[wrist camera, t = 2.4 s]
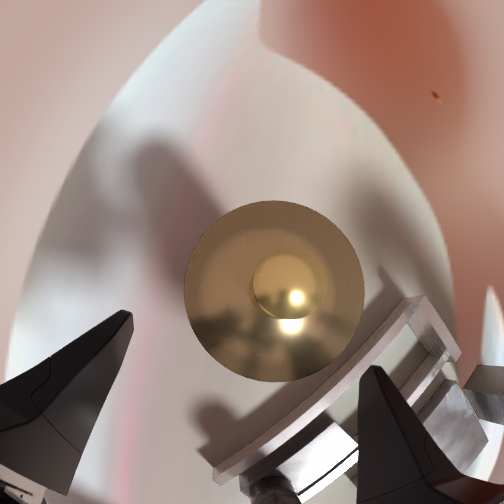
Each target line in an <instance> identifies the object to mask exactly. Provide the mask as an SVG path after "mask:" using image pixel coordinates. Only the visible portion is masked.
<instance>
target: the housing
mask: <svg viewBox="0 0 504 504" xmlns="http://www.w3.org/2000/svg"><path fill="white" fill-rule="evenodd" d="M364 296H365V293H364V279H363V273H362V269H361V266H360V262H359V260H358V257H357V255H356V253H355V251H354V249H353V247H352V245H351V244H350V242H349V240H348V239H347V238H346V236H345V235H344V234H343V233H342V231H341V230H340V229H339V228H338V227H337V226H336V225H335V224H334V223H332V222H331V221H330V220H329V219H327V218H326V217H325V216H323V215H321V214H320V213H318V212H316V211H314V210H312V209H310V208H308V207H305V206H302V205H299V204H296V203H291V202H286V201H261V202H256V203H251V204H248V205H245V206H242V207H239V208H237V209H235V210H233V211H231V212H229V213H227V214H226V215H224V216H223V217H221V218H220V219H218V220H217V221H216V222H215V223H214V224H213V225H212V226H210V228H209V229H208V230H207V231H206V232H205V233H204V234H203V236H202V237H201V239H200V240H199V242H198V243H197V245H196V246H195V248H194V250H193V252H192V254H191V257H190V260H189V263H188V266H187V269H186V275H185V281H184V299H185V307H186V311H187V315H188V319H189V321H190V324H191V327H192V329H193V331H194V333H195V335H196V337H197V338H198V340H199V342H200V343H201V344H202V346H203V347H204V348H205V350H206V351H207V352H208V353H209V354H210V355H211V356H212V357H213V358H214V359H215V360H216V361H218V362H219V363H220V364H222V365H223V366H224V367H226V368H227V369H229V370H231V371H233V372H234V373H236V374H239V375H241V376H244V377H246V378H250V379H254V380H258V381H265V382H286V381H292V380H297V379H300V378H303V377H306V376H309V375H311V374H313V373H315V372H317V371H319V370H321V369H322V368H324V367H326V366H327V365H329V364H330V363H331V362H332V361H333V360H334V359H336V358H337V357H338V356H339V355H340V354H341V352H342V351H343V350H344V349H345V348H346V346H347V345H348V344H349V342H350V341H351V339H352V337H353V335H354V334H355V332H356V330H357V327H358V325H359V322H360V319H361V315H362V311H363V306H364Z"/></svg>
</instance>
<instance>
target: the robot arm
mask: <svg viewBox="0 0 504 504" xmlns="http://www.w3.org/2000/svg"><path fill="white" fill-rule="evenodd" d="M133 331H134V324H133V315H132V313H131V312H129V311H126V310H120V311H118V312H116V313H115V314H113V315H112V316H110V317H109V318H107V319H106V320H104V321H103V322H101V323H100V324H98V325H97V326H95V327H93V328H92V329H90V330H89V331H87V332H86V333H84V334H83V335H81V336H80V337H78V338H77V339H75V340H74V341H72V342H71V343H69V344H68V345H66V346H65V347H63V348H62V349H60V350H59V351H57V352H56V353H54V354H53V355H51V357H48V358H47V359H45V360H44V361H42V362H41V363H39V364H38V365H36V366H35V367H33V368H31V369H29V370H28V371H26V372H24V373H22V374H20V375H19V376H17V377H15V378H13V379H11V380H9V381H7V382H5V383H3V384H1V385H0V504H47V503H46V501H45V499H44V495H45V492H46V489H47V488H48V489H51V490H53V491H56V492H58V493H60V494H63V495H66V496H67V494H68V491H69V488H70V485H71V483H72V480H73V477H74V474H75V472H76V469H77V467H78V464H79V461H80V459H81V456H82V454H83V451H84V449H85V446H86V444H87V441H88V439H89V436H90V434H91V432H92V429H93V427H94V425H95V422H96V420H97V418H98V415H99V413H100V411H101V409H102V407H103V404H104V402H105V400H106V398H107V396H108V393H109V391H110V389H111V387H112V385H113V383H114V381H115V378H116V376H117V374H118V372H119V370H120V368H121V365H122V362H123V359H124V357H125V354H126V351H127V348H128V345H129V342H130V340H131V337H132V334H133ZM503 501H504V484H502V485H500V484H494V483H490V482H487V481H483V480H479V479H476V478H472V477H469V476H466V475H464V474H462V473H461V472H460V471H459V470H458V469H457V468H456V467H455V466H454V465H453V463H452V462H451V461H450V460H449V459H448V457H447V456H446V455H445V454H444V453H443V451H442V450H441V449H440V448H439V446H438V445H437V444H436V442H435V441H434V439H433V438H432V437H431V435H430V434H429V432H428V431H426V428H425V427H424V425H423V424H422V422H421V421H420V420H419V418H418V417H417V415H416V414H415V412H414V411H413V410H412V408H411V407H410V405H409V404H408V403H407V401H406V400H405V398H404V397H403V396H402V394H401V393H400V391H399V390H398V389H397V387H396V386H395V385H394V383H393V382H392V380H391V379H390V378H389V376H388V375H387V374H386V372H385V371H384V370H383V368H382V367H381V366H377V365H371V366H370V367H369V368H368V369H367V370H366V371H365V373H364V374H363V375H362V376H361V378H360V382H359V400H358V479H357V500H356V503H357V504H503Z"/></svg>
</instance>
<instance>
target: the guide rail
mask: <svg viewBox="0 0 504 504" xmlns="http://www.w3.org/2000/svg"><path fill="white" fill-rule="evenodd" d="M406 323H408V325H409V326H410V327H411V329H412V330H413V332H414V333H415V334H416V336H417V337H418V339H419V340H420V342H421V343H422V344H423V346H424V347H425V349H426V350H427V352H428V353H429V355H428V356H427V357H426V359H425V360H424V361H423V363H422V364H421V365H420V366H419V368H418V369H417V370H416V371H415V373H414V374H413V375H412V376H411V378H410V379H409V380H408V381H407V382H406V383H405V385H404V386H403V387H402V388H401V389H400V390H399V391H400V393H401V394H402V396H403V397H404V398H405V400H406V401H407V403H408V404H409V405H410V407H411V406H412V405H413V404H414V403H415V401H416V400H417V399H418V398H419V397H420V395H421V394H422V393H423V392H424V390H425V389H426V388H427V387H428V385H429V384H430V383H431V381H432V380H433V379H434V377H435V376H436V375H437V373H438V372H439V371H440V369H441V368H442V367H443V365H444V364H445V362H455V363H456V361H457V360H458V358H459V357H460V355H461V353H462V352H461V350H460V349H459V347H458V345H457V344H456V342H455V340H454V339H453V337H452V335H451V334H450V332H449V330H448V329H447V327H446V326H445V324H444V322H443V321H442V319H441V318H440V316H439V315H438V313H437V312H436V310H435V309H434V307H433V306H432V304H431V303H430V301H429V300H428V298H427V297H426V295H421V296H416V297H410V298H404V299H402V300H401V302H400V303H399V304H398V305H397V306H396V308H395V309H394V310H393V311H392V312H391V314H390V315H389V316H388V317H387V318H386V319H385V321H384V322H383V323H382V324H381V325H380V326H379V327H378V328H377V330H376V331H375V332H374V333H373V334H372V335H371V336H370V337H369V338H368V339H367V341H366V342H365V343H364V344H363V345H362V346H361V347H360V348H359V349H358V350H357V351H356V352H355V353H354V354H353V355H352V356H351V357H350V358H349V359H348V360H347V361H346V362H345V363H344V364H343V365H342V366H341V367H340V368H339V369H338V370H337V371H336V372H335V373H334V374H333V375H332V376H331V377H330V378H329V379H328V380H326V381H325V382H324V383H323V384H322V385H321V386H320V387H319V388H318V389H317V390H316V391H314V392H313V393H312V394H311V395H310V396H309V397H308V398H306V399H305V400H304V401H303V402H302V403H301V404H299V405H298V406H297V407H296V408H295V409H294V410H292V411H291V412H290V413H289V414H287V415H286V416H285V417H284V418H282V419H281V420H280V421H279V422H277V423H276V424H275V425H274V426H272V427H271V428H270V429H268V430H267V431H266V432H264V433H263V434H262V435H260V436H259V437H258V438H256V439H255V440H254V441H252V442H251V443H249V444H248V445H247V446H245V447H244V448H242V449H241V450H239V451H238V452H236V453H235V454H233V455H232V456H230V457H229V458H227V459H226V460H224V461H223V462H221V463H220V464H218V465H217V466H215V467H213V475H212V479H213V480H214V481H215V482H216V483H217V484H219V485H220V486H221V485H222V484H224V483H226V482H227V481H229V480H231V479H232V478H234V477H235V476H237V475H239V474H240V473H242V472H243V471H245V470H246V469H248V468H249V467H251V466H252V465H254V464H255V463H257V462H258V461H260V460H261V459H263V458H264V457H265V456H267V455H268V454H270V453H271V452H272V451H274V450H275V449H277V448H278V447H279V446H281V445H282V444H283V443H285V442H286V441H287V440H288V439H290V438H291V437H292V436H294V435H295V434H296V433H297V432H299V431H300V430H301V429H302V428H304V427H305V426H306V425H307V424H308V423H310V422H311V421H312V420H313V419H314V418H315V417H317V416H318V415H319V414H320V413H321V412H322V411H323V410H325V409H326V408H327V407H328V406H329V405H330V404H331V403H332V402H333V401H334V400H336V399H337V398H338V397H339V396H340V395H341V394H342V393H343V392H344V391H345V390H346V389H347V388H348V387H349V386H350V385H351V384H352V383H353V382H354V381H355V380H356V379H357V378H358V377H359V376H360V375H361V374H362V373H363V372H364V371H365V370H366V369H367V368H368V367H369V366H370V365H371V364H372V363H373V361H374V360H375V359H376V358H377V357H378V356H379V355H380V354H381V353H382V352H383V350H384V349H385V348H386V347H387V346H388V345H389V344H390V342H391V341H392V340H393V339H394V338H395V337H396V335H397V334H398V333H399V332H400V331H401V329H402V328H403V327H404V326H405V324H406ZM352 439H353V440H354V441H355V442H356V443H357V444H358V434H357V435H356V436H354V437H353V438H352ZM357 460H358V446H357V447H356V448H355V449H353V450H352V451H351V452H350V453H349V454H348V455H347V456H345V457H344V458H343V459H342V460H341V461H339V462H338V463H337V464H336V465H335V466H333V467H332V468H331V469H330V470H328V471H327V472H326V473H324V474H323V475H322V476H321V477H319V478H318V479H317V480H315V481H314V482H313V483H311V484H310V485H308V486H307V487H306V488H304V489H303V490H301V491H300V492H298V493H297V494H298V497H299V499H300V501H301V503H303V502H304V501H306V500H307V499H309V498H310V497H311V496H313V495H314V494H316V493H317V492H319V491H320V490H321V489H323V488H324V487H325V486H327V485H328V484H329V483H331V482H332V481H333V480H335V479H336V478H337V477H338V476H340V475H341V474H342V473H343V472H345V471H346V470H347V469H348V468H349V467H351V466H352V465H353V464H354V463H355V462H356V461H357Z"/></svg>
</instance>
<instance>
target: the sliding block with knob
mask: <svg viewBox="0 0 504 504" xmlns="http://www.w3.org/2000/svg"><path fill="white" fill-rule="evenodd" d="M357 446H358V444H357V443H356V442H355V441H354V440H353V439H352V438H351V437H350V436H348V435H347V434H346V433H345V432H344V431H343V430H342V429H341V428H340V427H339V426H338V425H337V424H336V423H335V422H334V421H333V420H332V419H331V418H330V417H329V416H328V415H327V414H326V413H324V412H323V411H322V412H321V413H320V414H319V415H318V416H317V417H315V418H314V419H313V420H312V421H311V422H310V423H308V424H307V425H306V426H305V427H304V428H302V429H301V430H300V431H299V432H297V433H296V434H295V435H294V436H292V437H291V438H290V439H288V440H287V441H286V442H285V443H283V444H282V445H281V446H279V447H278V448H277V449H275V450H274V451H272V452H271V453H270V454H268V455H267V456H265V457H264V458H263V459H261V460H260V461H258V462H257V463H255V464H254V465H252V466H251V467H249V468H248V469H246V470H245V471H243V472H242V473H240V474H239V482H240V491H241V492H242V493H244V494H245V495H246V496H248V497H249V498H250V499H251V504H302V503H301V501H300V499H299V497H298V494H297V493H298V492H300V491H301V490H303V489H304V488H306V487H307V486H308V485H310V484H311V483H313V482H314V481H315V480H317V479H318V478H319V477H321V476H322V475H323V474H324V473H326V472H327V471H328V470H330V469H331V468H332V467H333V466H335V465H336V464H337V463H338V462H339V461H341V460H342V459H343V458H344V457H345V456H347V455H348V454H349V453H350V452H351V451H352V450H353V449H355V448H356V447H357Z"/></svg>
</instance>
